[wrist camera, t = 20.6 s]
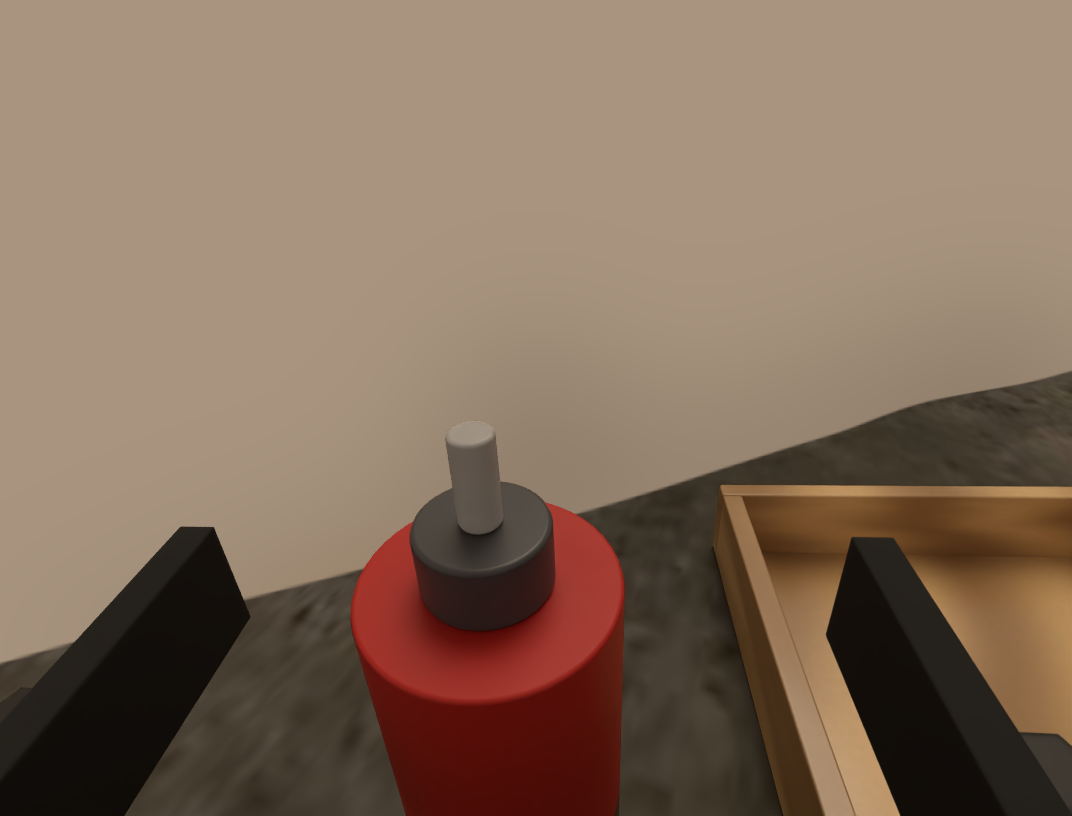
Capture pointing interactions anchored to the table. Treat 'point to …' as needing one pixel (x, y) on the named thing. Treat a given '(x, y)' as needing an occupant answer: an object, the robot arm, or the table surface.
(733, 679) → the table surface
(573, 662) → the red squeeze bottle
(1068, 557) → the storage box
